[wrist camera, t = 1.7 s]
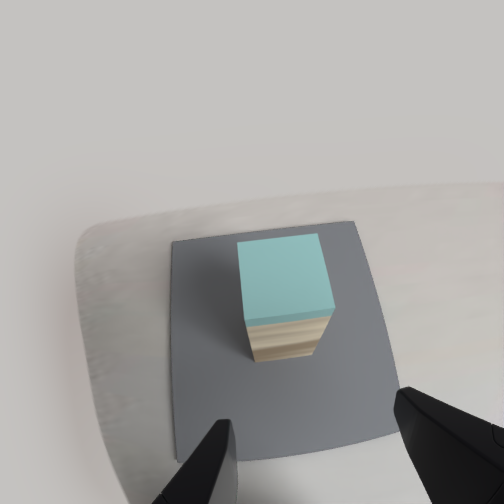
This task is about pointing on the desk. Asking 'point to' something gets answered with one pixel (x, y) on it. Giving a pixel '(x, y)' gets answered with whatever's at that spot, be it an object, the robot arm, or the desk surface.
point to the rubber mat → (283, 370)
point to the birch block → (284, 295)
